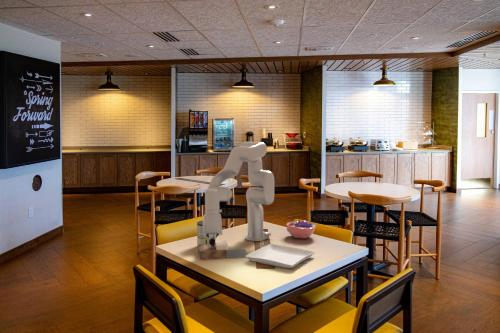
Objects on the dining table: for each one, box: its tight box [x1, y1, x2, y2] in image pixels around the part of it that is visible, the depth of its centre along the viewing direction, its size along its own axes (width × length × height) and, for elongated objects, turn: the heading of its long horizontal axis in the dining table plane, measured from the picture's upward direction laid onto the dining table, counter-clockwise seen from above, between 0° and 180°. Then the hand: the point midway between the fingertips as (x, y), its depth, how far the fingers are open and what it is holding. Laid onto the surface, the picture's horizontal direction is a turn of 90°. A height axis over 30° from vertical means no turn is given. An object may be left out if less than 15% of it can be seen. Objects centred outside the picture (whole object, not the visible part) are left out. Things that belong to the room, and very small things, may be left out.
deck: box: [197, 244, 228, 261], centre depth 229 cm, size 14×14×4 cm
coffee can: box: [196, 220, 214, 248], centre depth 245 cm, size 10×10×14 cm
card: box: [215, 240, 229, 250], centre depth 229 cm, size 6×9×2 cm, turn 11°
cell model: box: [285, 219, 317, 240], centre depth 264 cm, size 17×20×11 cm
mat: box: [227, 248, 249, 259], centre depth 232 cm, size 11×15×1 cm
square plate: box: [245, 243, 316, 269], centre depth 222 cm, size 27×27×4 cm
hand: (212, 245), depth 229 cm, fingers closed
